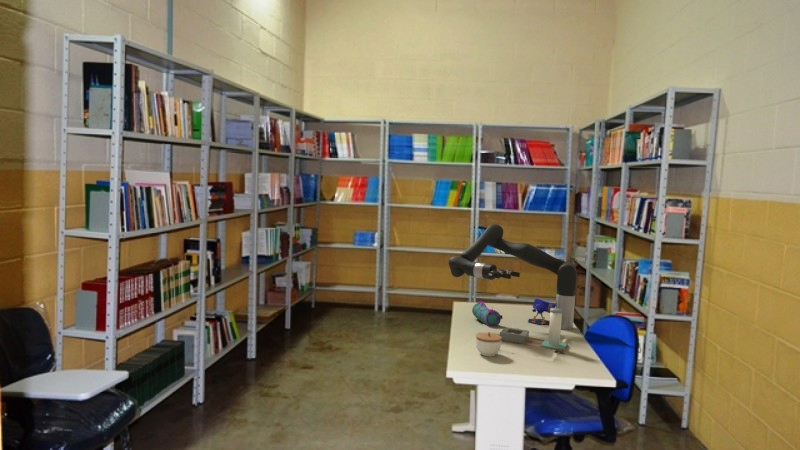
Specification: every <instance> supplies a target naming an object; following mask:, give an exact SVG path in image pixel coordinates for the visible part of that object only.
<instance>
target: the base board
mask: <svg viewBox="0 0 800 450" xmlns="http://www.w3.org/2000/svg"><path fill="white" fill-rule="evenodd" d="M544 340H545V339H544V338H543V339H542V338H537V337H530V336H529V338H528V339H527V340H526V342H525V343H524V344H522V343H516V342H509V341H503V340H501V342H505V343H509V344H510V343H511V344H517V345H523V346H528V347H535V348H536V347H537V348H542V349H548V350H553V351H554V353H557V354H564V353H565V351H566V349H567V348H568V347H569V346H568V345H569V343H567V342H566V343H567V345H566V347H565V349H564V350H561V349H555V348H549V347H542V346H541V344H542V343H543V342H544ZM560 342H561V341H560ZM561 343H563V342H561Z"/></svg>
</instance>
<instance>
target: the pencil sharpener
mask: <svg viewBox="0 0 800 450" xmlns="http://www.w3.org/2000/svg"><path fill="white" fill-rule="evenodd" d="M532 308H533V309H532V312H533V313H536V315H533V317H532V318H528V320H527V323H528V324H531V325H532V324H533V325H536V326H548V327H549V324H550V320H549V319H545V316H543V313H545V312H546V313H549V314H550V308H556V303H553V302H548V301H545V300H543V299H539V298H535V299H534V300H533V303H532ZM538 315H540V317H541V318H537V317H538Z"/></svg>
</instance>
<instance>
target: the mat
mask: <svg viewBox="0 0 800 450" xmlns="http://www.w3.org/2000/svg"><path fill="white" fill-rule="evenodd" d="M543 340H544V342H543V343H542V344H541V346H542V347H549V348H555V349H561V350H564V349H565V347H566V345H567V342H562V343H561V341H560V345H559V346H552V345H549V344H548V339H543ZM565 350H566V349H565Z"/></svg>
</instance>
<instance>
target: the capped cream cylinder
mask: <svg viewBox="0 0 800 450" xmlns="http://www.w3.org/2000/svg"><path fill="white" fill-rule="evenodd" d="M561 319H562V309H559V308H556V307H555V308H550V313H549V321H550V324H549V326H548V339H547V340H548V344H549V345H552V346H559V345H560V342H561V330H562V329H561Z"/></svg>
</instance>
